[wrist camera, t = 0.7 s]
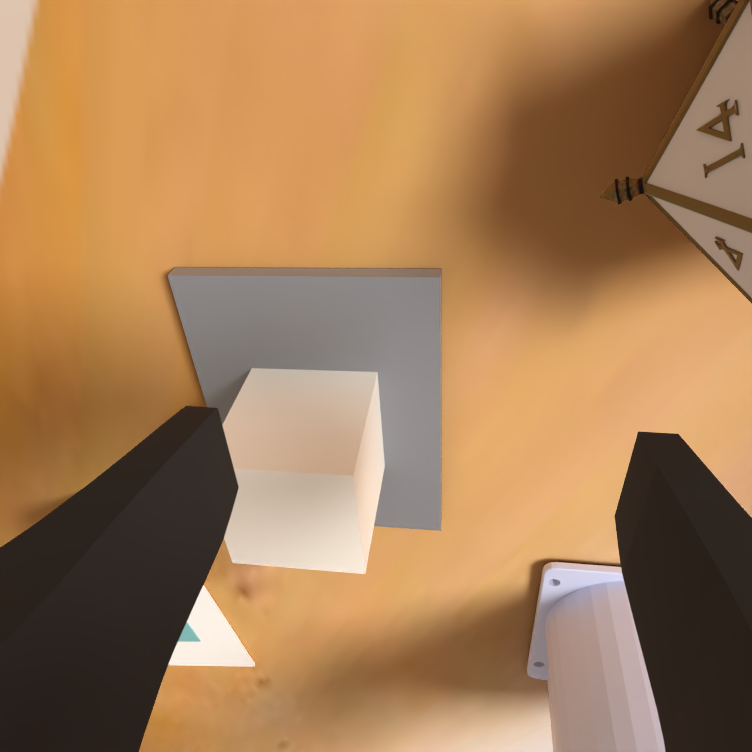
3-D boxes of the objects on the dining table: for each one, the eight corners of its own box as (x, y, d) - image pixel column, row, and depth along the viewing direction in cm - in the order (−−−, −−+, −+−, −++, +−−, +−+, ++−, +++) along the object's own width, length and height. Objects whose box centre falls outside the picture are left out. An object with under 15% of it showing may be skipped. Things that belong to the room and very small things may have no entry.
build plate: (441, 519, 26) (440, 530, 26) (243, 506, 28) (239, 516, 27) (441, 268, 19) (440, 277, 19) (174, 267, 20) (167, 275, 20)
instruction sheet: (255, 663, 36) (254, 667, 36) (154, 662, 38) (153, 665, 38) (187, 560, 31) (185, 563, 31) (73, 564, 33) (71, 567, 32)
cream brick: (384, 465, 24) (365, 574, 20) (272, 459, 25) (232, 563, 21) (377, 372, 21) (353, 475, 17) (251, 368, 22) (200, 466, 18)
